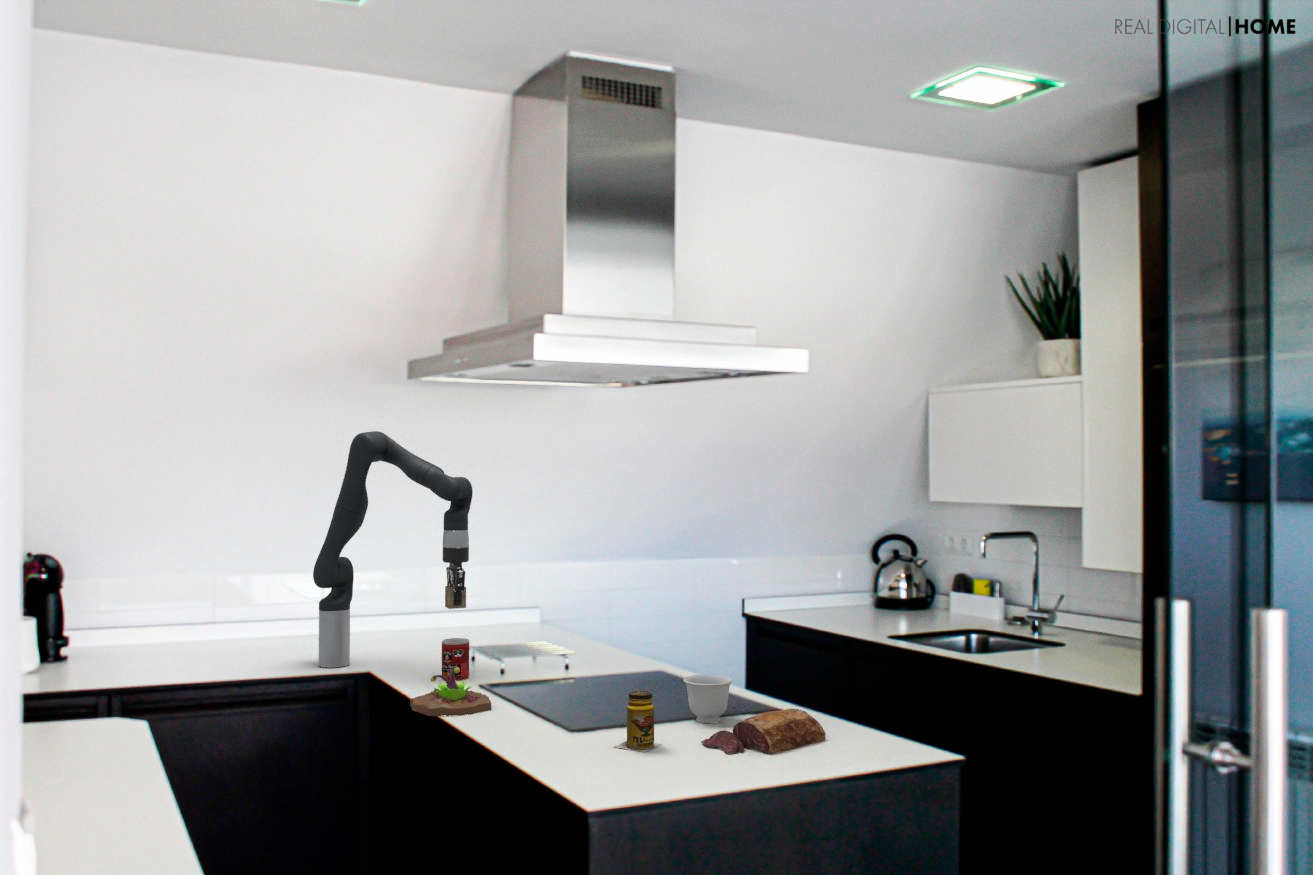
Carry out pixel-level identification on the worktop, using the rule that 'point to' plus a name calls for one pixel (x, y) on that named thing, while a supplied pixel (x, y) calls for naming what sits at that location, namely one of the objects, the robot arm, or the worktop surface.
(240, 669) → the worktop surface
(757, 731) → the cured meat
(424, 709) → the plant
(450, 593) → the walnut block
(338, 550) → the robot arm
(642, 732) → the condiment
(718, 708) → the teacup
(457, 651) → the canned food
